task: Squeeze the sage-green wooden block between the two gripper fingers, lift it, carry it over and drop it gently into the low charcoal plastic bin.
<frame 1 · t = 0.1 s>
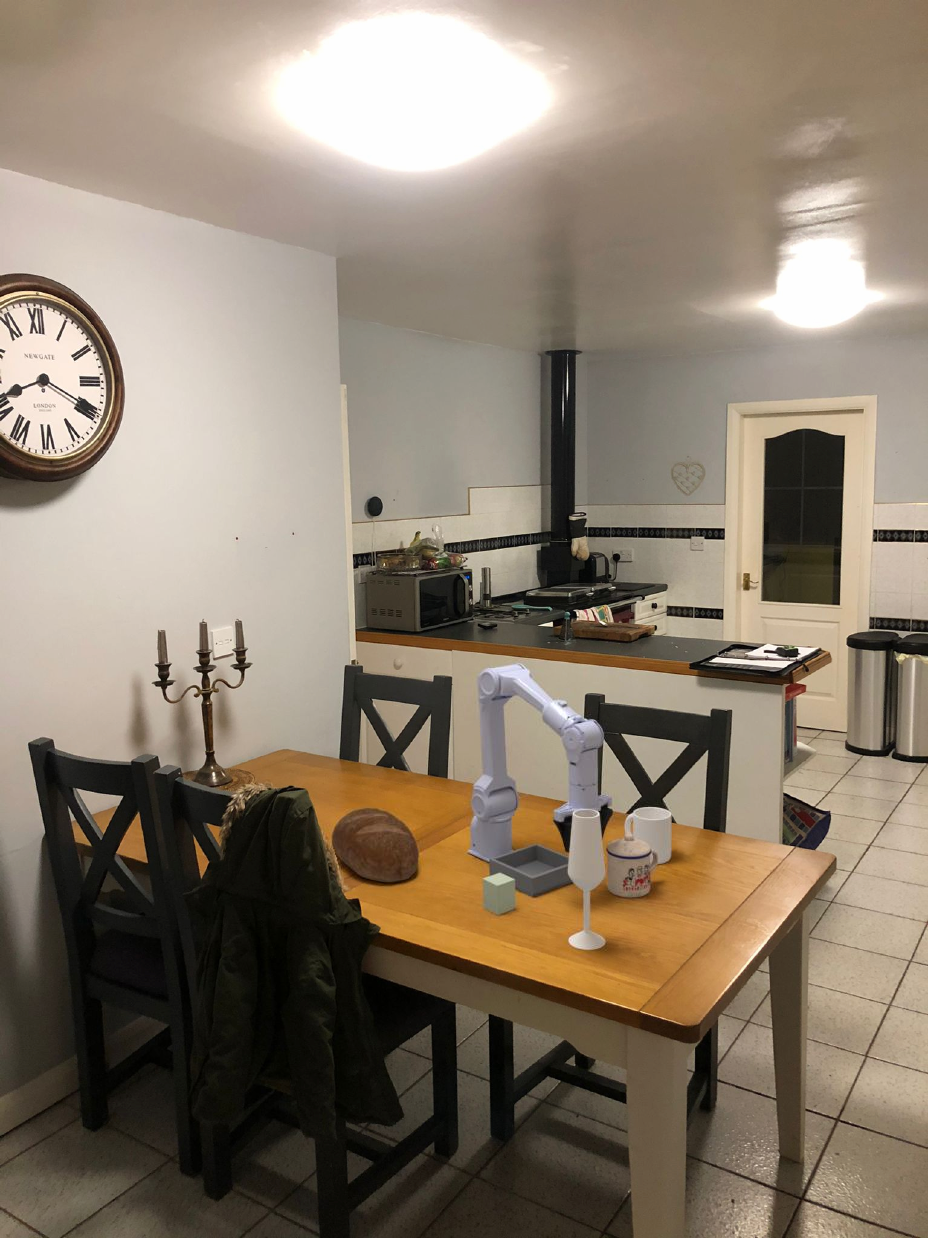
hand: (583, 847, 191), 10 cm above the table, fingers open, 7 cm apart
teacup with lid: (634, 888, 195), on the table
mug: (645, 856, 212), on the table
block: (499, 908, 187), on the table
bin: (534, 878, 201), on the table
champagne flute: (586, 942, 173), on the table
bread: (374, 862, 213), on the table
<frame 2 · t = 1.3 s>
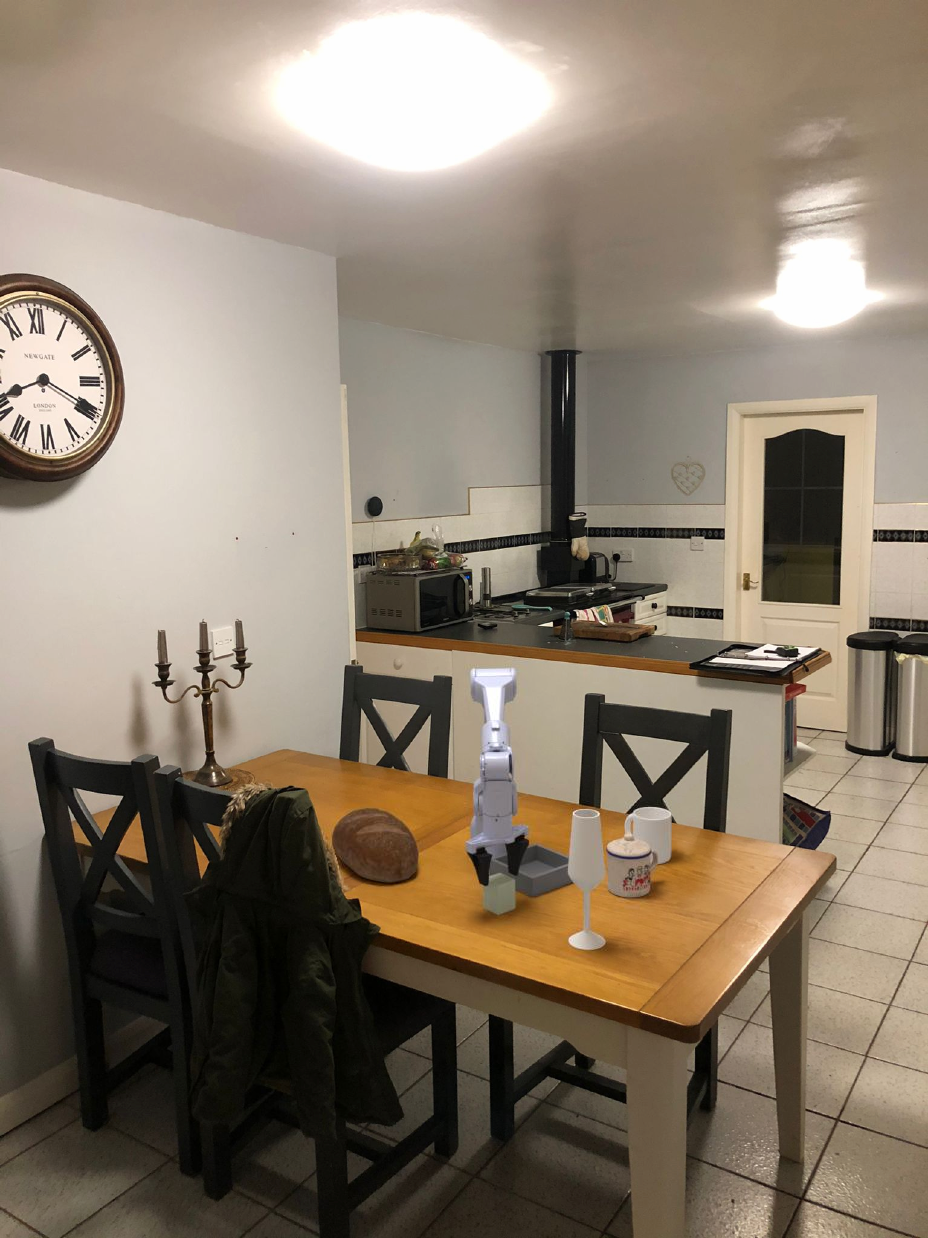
hand: (498, 879, 186), 6 cm above the table, fingers open, 7 cm apart
nothing on the table moved.
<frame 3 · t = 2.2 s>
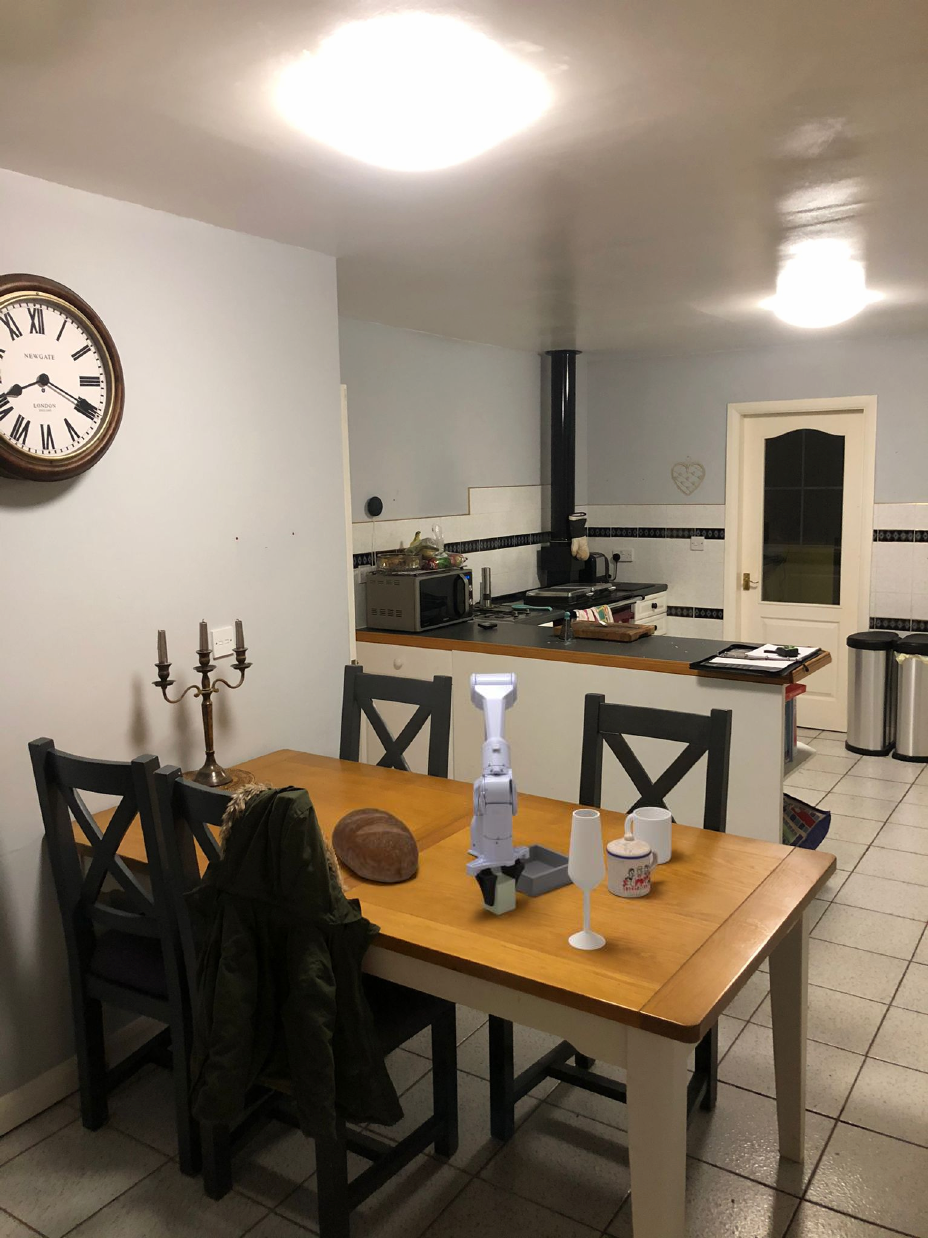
hand: (499, 901, 187), 1 cm above the table, fingers closed on block, 4 cm apart
block: (499, 908, 187), on the table, touching gripper
everything else where it was.
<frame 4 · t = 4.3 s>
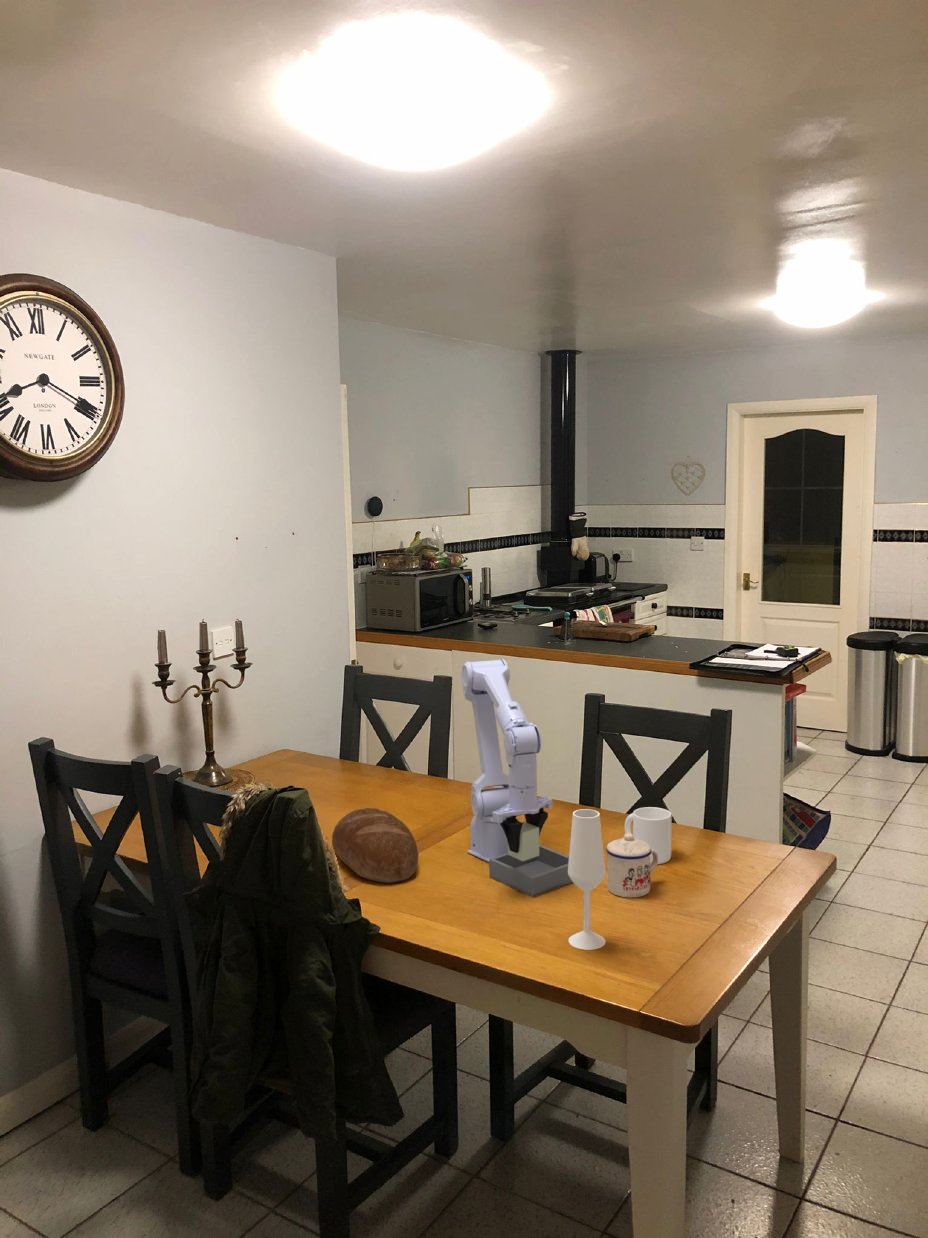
hand: (523, 848, 196), 8 cm above the table, fingers closed on block, 4 cm apart
block: (523, 855, 196), point 7 cm above the table, touching gripper
everything else where it was.
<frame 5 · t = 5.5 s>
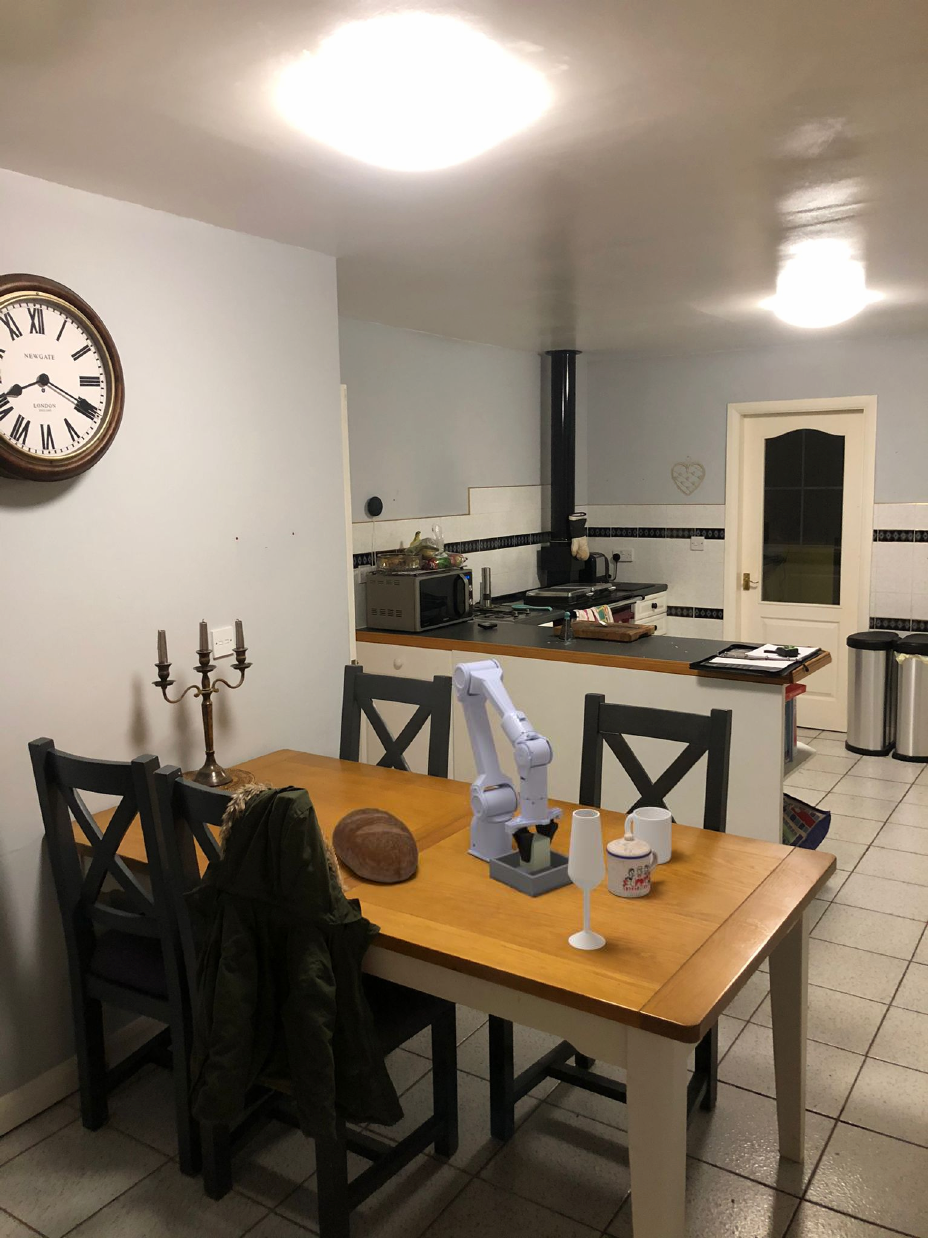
hand: (534, 858, 200), 4 cm above the table, fingers closed on block, 4 cm apart
block: (535, 865, 201), point 3 cm above the table, touching gripper
everything else where it was.
when the fingers open (4 cm above the table, at t = 6.3 s): block drops 2 cm, resting on bin.
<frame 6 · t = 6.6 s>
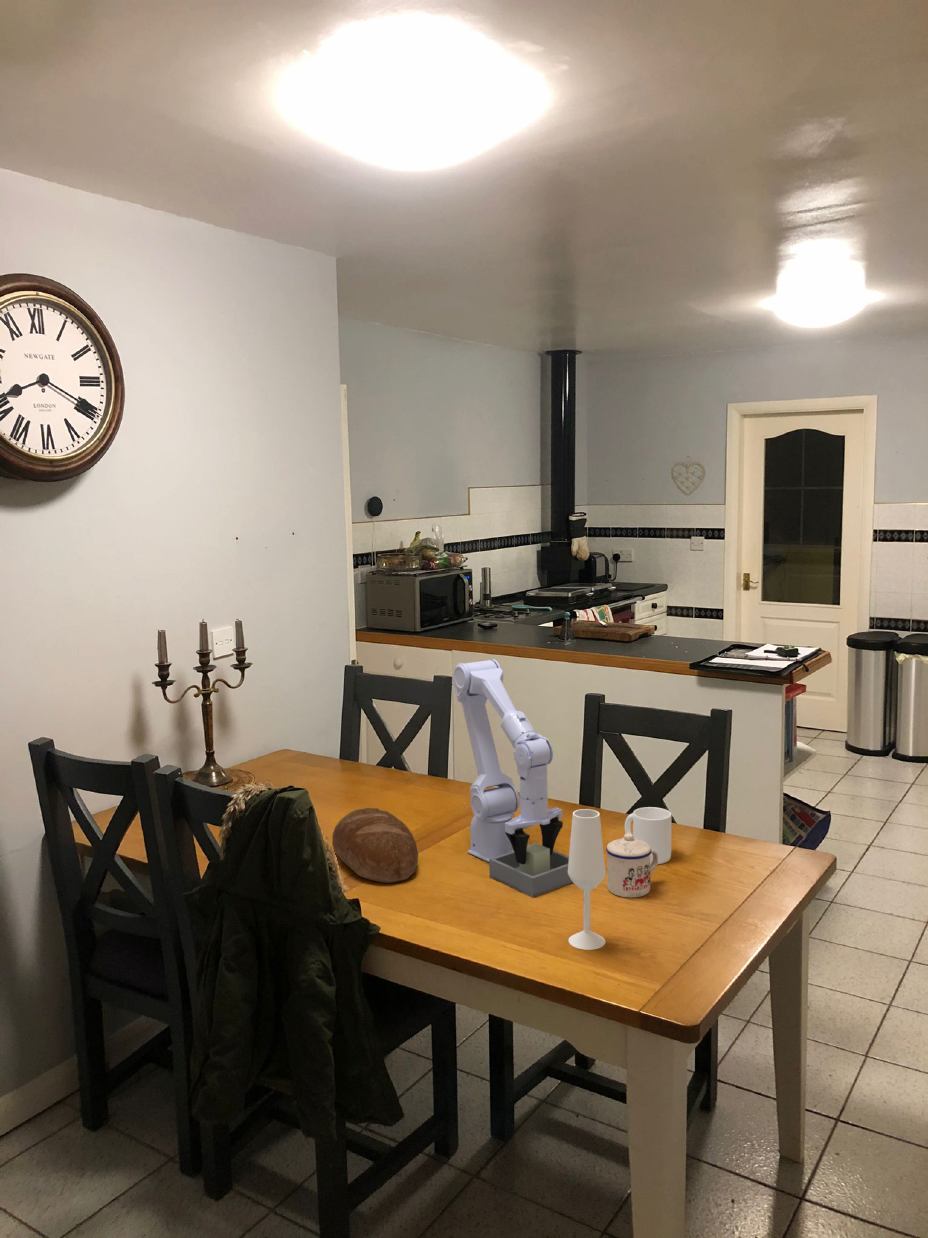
hand: (534, 858, 200), 4 cm above the table, fingers open, 7 cm apart
block: (534, 875, 201), point 1 cm above the table, touching bin
everything else where it was.
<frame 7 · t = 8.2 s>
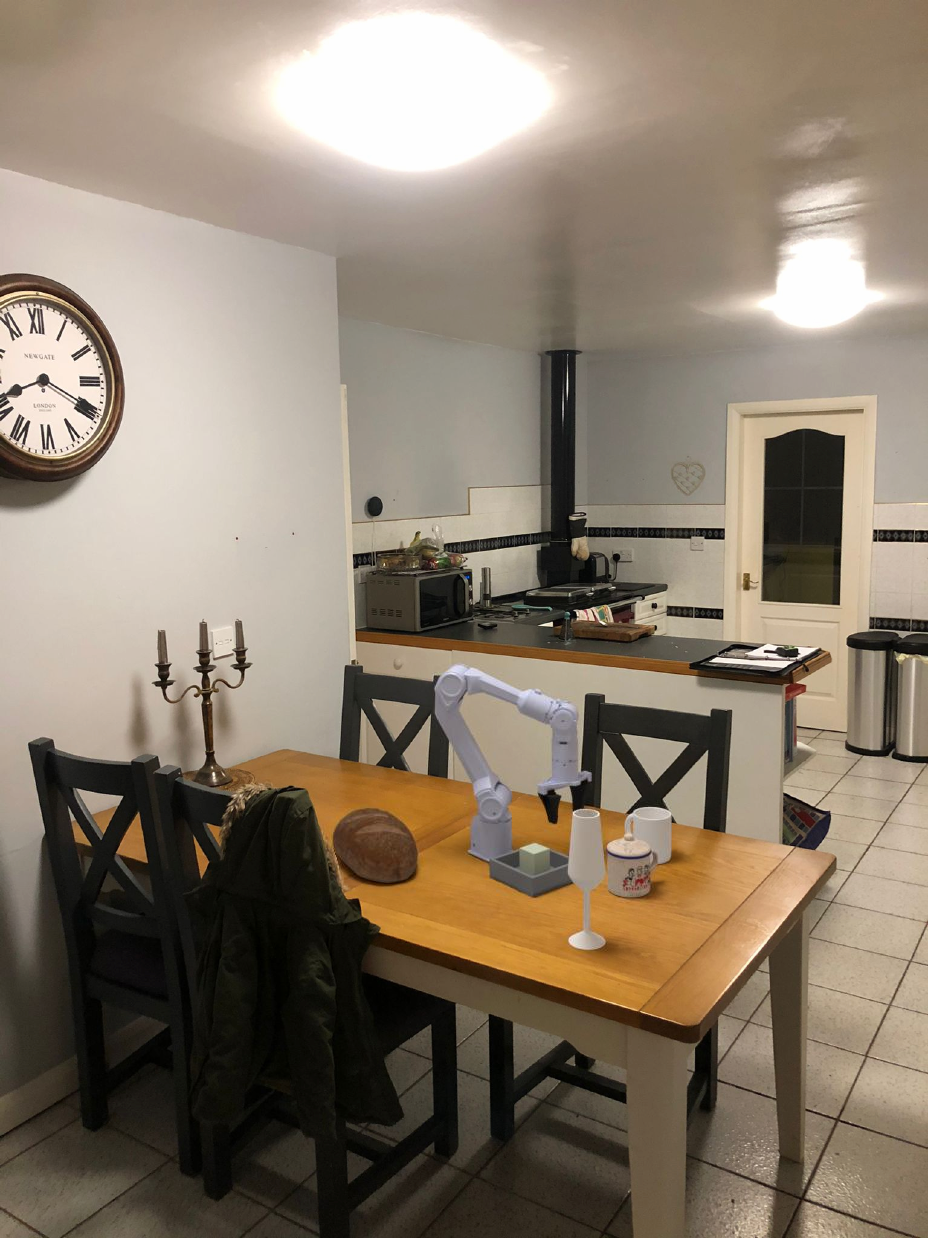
hand: (565, 818, 209), 9 cm above the table, fingers open, 7 cm apart
nothing on the table moved.
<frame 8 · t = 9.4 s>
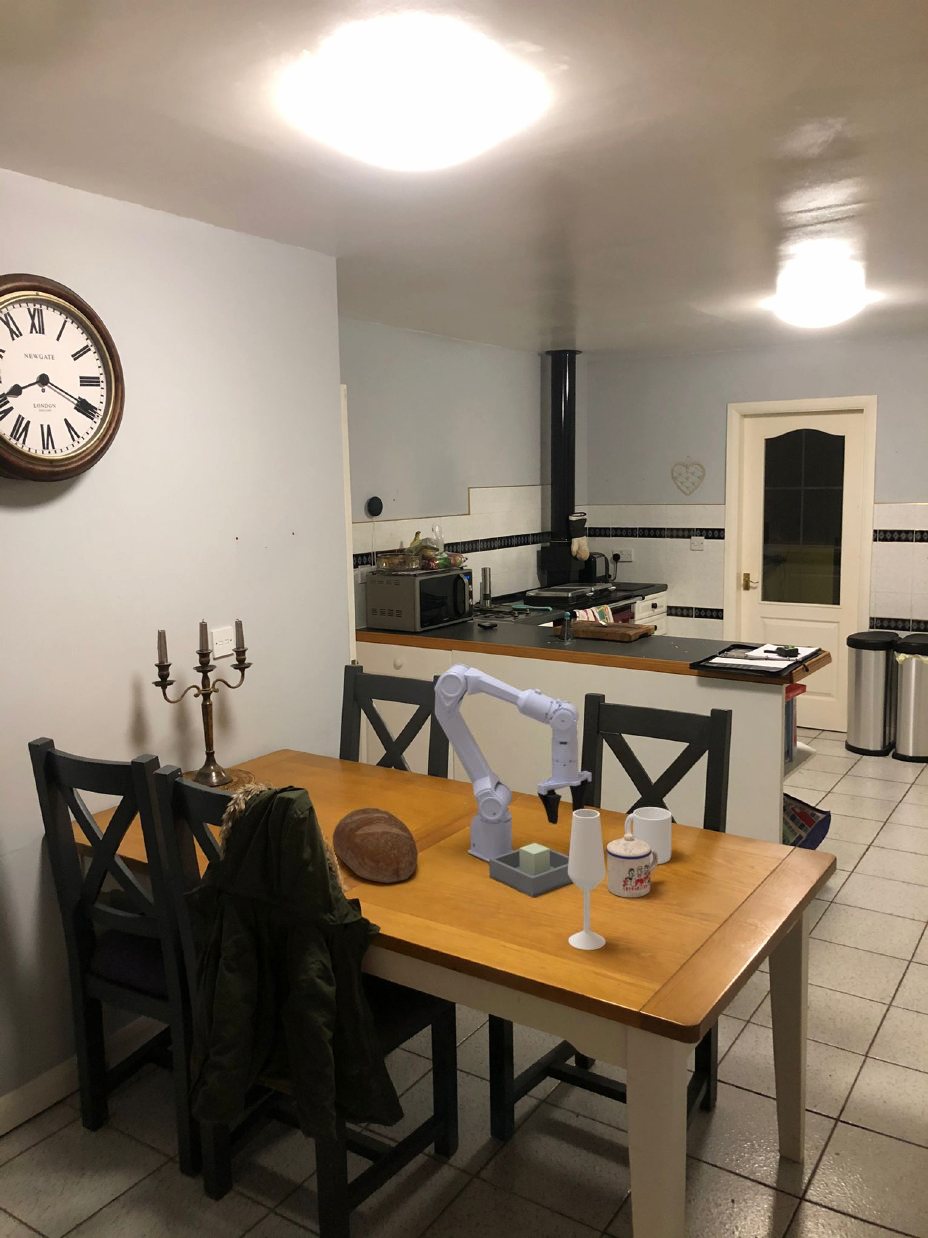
hand: (565, 818, 209), 9 cm above the table, fingers open, 7 cm apart
nothing on the table moved.
at the end: block inside the target area on the bin (0.1 cm from its centre), point 0.6 cm above the bin's base; the gripper is holding nothing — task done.
